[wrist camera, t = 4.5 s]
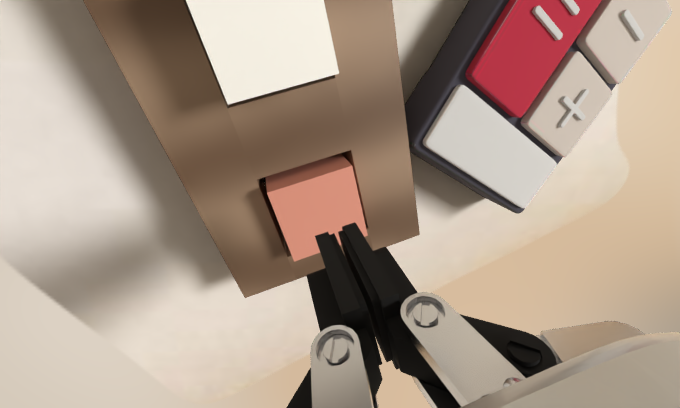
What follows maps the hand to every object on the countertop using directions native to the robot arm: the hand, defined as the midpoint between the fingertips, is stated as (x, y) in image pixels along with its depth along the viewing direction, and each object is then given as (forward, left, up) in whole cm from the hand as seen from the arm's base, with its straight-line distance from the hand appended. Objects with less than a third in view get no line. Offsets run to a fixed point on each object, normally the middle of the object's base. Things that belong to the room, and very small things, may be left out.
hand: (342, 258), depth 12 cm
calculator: (-3, +15, -9) cm, 18 cm away
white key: (-9, 0, -7) cm, 11 cm away
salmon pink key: (0, 0, -9) cm, 9 cm away
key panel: (-4, 0, -9) cm, 10 cm away
